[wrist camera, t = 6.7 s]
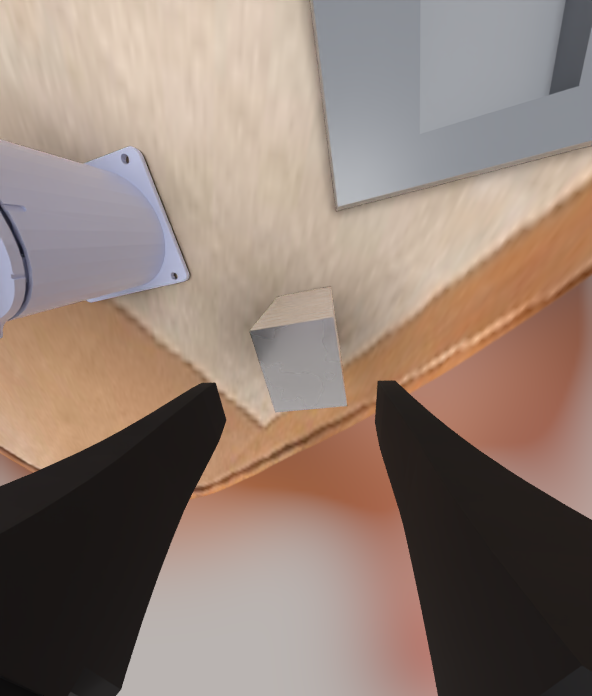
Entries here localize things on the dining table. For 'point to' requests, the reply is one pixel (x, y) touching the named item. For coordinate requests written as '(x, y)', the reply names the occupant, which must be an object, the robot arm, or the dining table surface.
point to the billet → (301, 351)
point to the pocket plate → (448, 89)
